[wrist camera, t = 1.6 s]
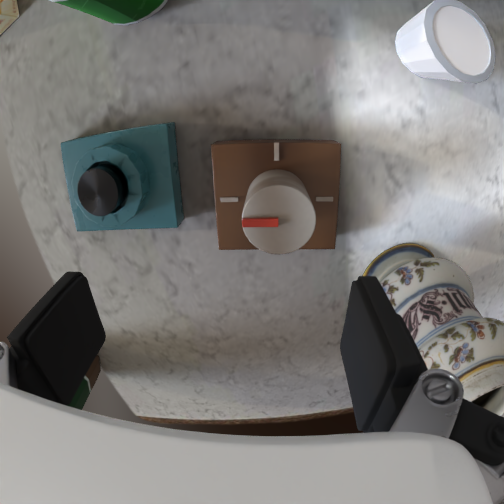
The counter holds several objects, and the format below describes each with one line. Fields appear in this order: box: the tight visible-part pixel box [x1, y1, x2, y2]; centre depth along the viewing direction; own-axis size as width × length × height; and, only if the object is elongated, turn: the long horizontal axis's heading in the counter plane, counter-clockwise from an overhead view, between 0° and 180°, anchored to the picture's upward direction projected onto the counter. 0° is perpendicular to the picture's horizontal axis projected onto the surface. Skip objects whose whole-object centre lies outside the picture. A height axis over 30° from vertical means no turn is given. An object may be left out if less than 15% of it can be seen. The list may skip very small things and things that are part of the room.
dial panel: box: [211, 139, 341, 250], centre depth 25 cm, size 10×9×3 cm
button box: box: [61, 122, 184, 231], centre depth 24 cm, size 11×9×4 cm
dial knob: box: [242, 169, 316, 254], centre depth 22 cm, size 5×5×5 cm
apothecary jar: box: [363, 244, 504, 416], centre depth 22 cm, size 12×12×18 cm
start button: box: [77, 164, 127, 216], centre depth 22 cm, size 4×4×2 cm
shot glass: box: [395, 0, 496, 84], centre depth 16 cm, size 7×7×7 cm
